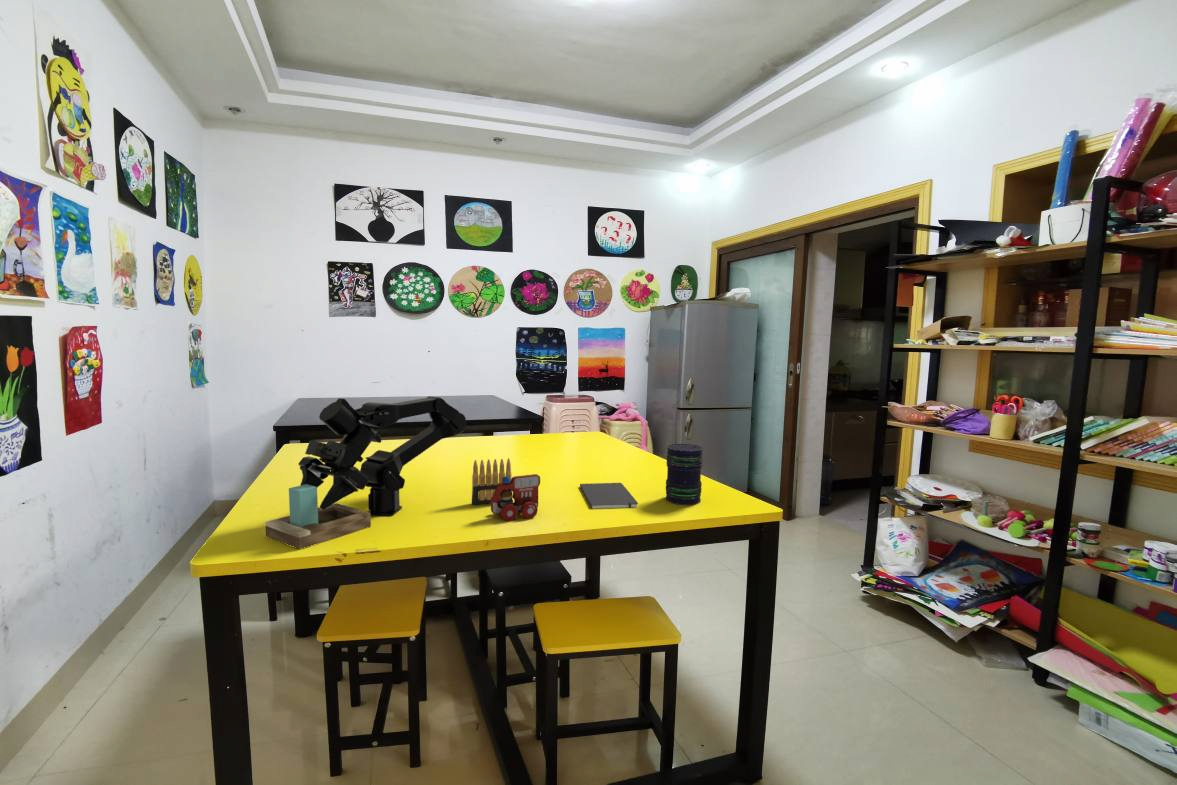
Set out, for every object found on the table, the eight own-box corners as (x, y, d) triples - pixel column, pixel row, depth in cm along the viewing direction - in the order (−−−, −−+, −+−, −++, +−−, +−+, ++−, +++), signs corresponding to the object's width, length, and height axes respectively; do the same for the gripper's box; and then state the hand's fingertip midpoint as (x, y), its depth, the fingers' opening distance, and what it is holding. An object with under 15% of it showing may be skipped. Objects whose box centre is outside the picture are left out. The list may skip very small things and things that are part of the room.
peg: (310, 528, 127) (308, 481, 126) (328, 535, 123) (327, 486, 122) (279, 537, 121) (277, 488, 120) (298, 544, 117) (296, 494, 116)
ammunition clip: (472, 505, 146) (472, 460, 145) (471, 503, 148) (471, 459, 147) (512, 502, 150) (512, 458, 149) (511, 500, 151) (511, 457, 150)
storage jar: (668, 505, 150) (670, 450, 148) (662, 494, 160) (664, 443, 158) (705, 505, 150) (707, 451, 149) (696, 495, 160) (698, 443, 158)
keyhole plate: (336, 516, 136) (336, 503, 135) (370, 526, 129) (370, 512, 128) (265, 536, 121) (265, 522, 121) (299, 549, 114) (299, 534, 114)
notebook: (579, 488, 166) (591, 510, 145) (579, 483, 166) (591, 505, 145) (621, 487, 168) (638, 509, 147) (621, 482, 168) (638, 503, 147)
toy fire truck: (487, 514, 139) (487, 473, 138) (534, 509, 144) (535, 470, 143) (494, 523, 133) (494, 480, 132) (543, 517, 138) (543, 476, 137)
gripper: (304, 422, 130) (258, 478, 122) (354, 430, 120) (307, 492, 112) (336, 449, 137) (295, 504, 129) (385, 459, 128) (344, 519, 120)
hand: (309, 504), depth 122 cm, fingers open, 9 cm apart
